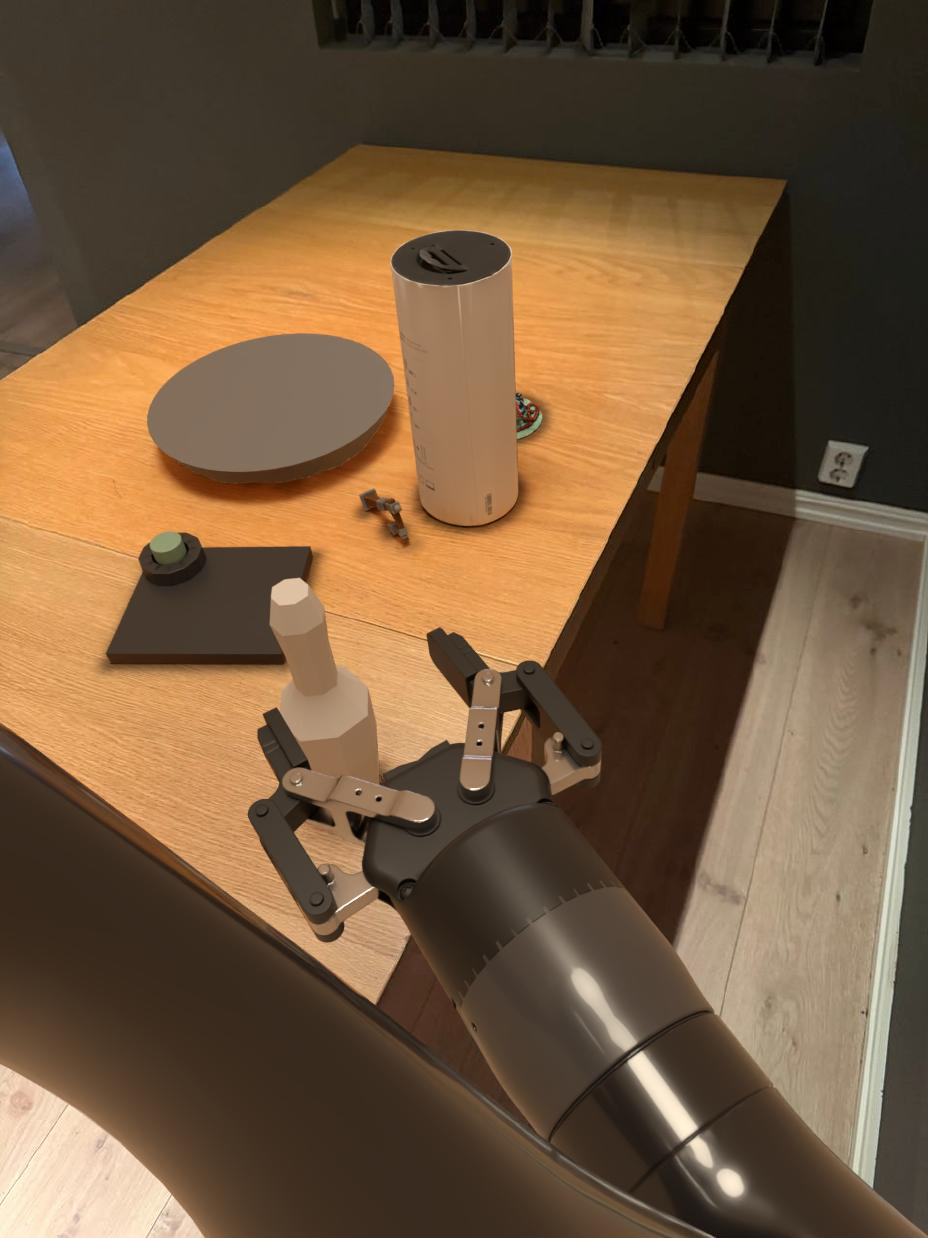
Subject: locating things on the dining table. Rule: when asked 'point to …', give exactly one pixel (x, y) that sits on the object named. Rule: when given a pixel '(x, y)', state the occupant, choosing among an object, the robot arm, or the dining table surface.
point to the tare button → (168, 548)
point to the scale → (206, 606)
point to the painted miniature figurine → (526, 416)
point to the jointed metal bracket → (372, 500)
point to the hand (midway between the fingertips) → (355, 680)
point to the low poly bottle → (322, 690)
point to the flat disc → (272, 408)
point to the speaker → (459, 371)
